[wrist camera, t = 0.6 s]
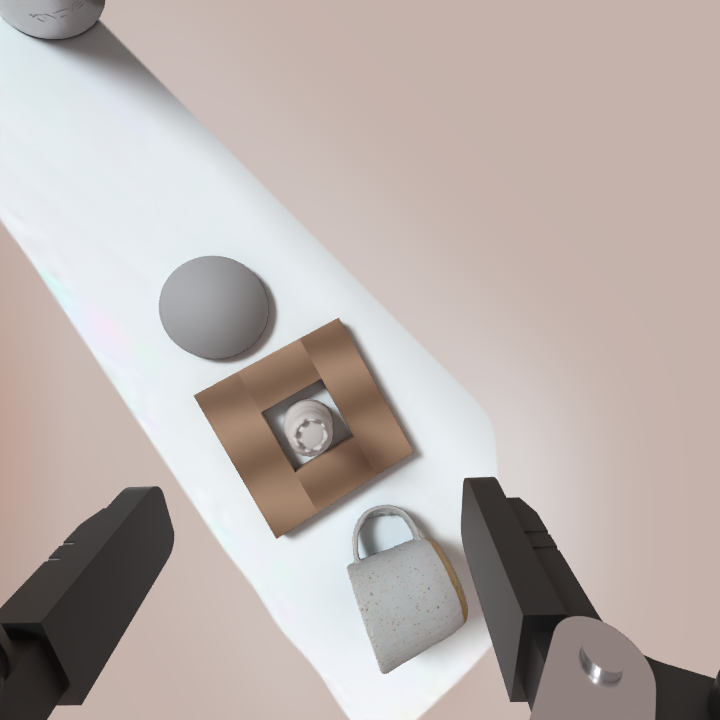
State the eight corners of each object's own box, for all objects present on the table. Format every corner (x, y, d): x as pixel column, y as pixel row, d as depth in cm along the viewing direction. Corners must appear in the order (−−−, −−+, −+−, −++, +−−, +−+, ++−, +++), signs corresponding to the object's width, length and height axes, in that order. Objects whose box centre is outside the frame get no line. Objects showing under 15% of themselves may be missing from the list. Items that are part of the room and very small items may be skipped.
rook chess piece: (295, 456, 33) (294, 479, 25) (275, 411, 33) (267, 420, 25) (340, 434, 34) (352, 450, 26) (320, 390, 34) (327, 393, 26)
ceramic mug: (447, 592, 35) (488, 649, 27) (367, 631, 34) (387, 703, 26) (409, 486, 35) (440, 513, 28) (328, 521, 34) (337, 559, 26)
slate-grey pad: (142, 286, 32) (138, 284, 31) (237, 242, 34) (236, 238, 33) (194, 377, 32) (192, 377, 31) (286, 328, 34) (286, 327, 33)
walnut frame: (198, 394, 32) (193, 395, 31) (337, 320, 35) (338, 317, 33) (277, 532, 33) (276, 538, 31) (409, 448, 35) (413, 451, 34)
